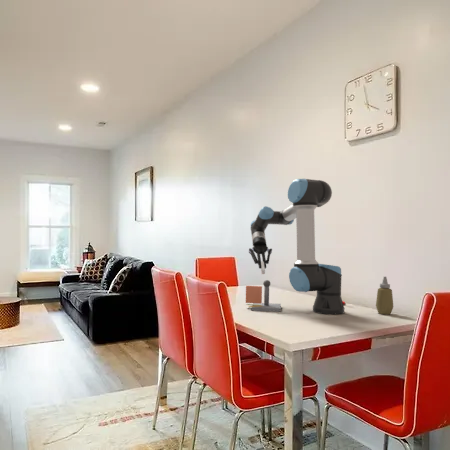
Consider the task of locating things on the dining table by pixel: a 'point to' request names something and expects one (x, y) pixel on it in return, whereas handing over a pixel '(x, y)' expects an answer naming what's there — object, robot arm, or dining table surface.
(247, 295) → the lever
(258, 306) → the grey flat block
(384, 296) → the squeeze bottle
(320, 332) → the dining table surface
